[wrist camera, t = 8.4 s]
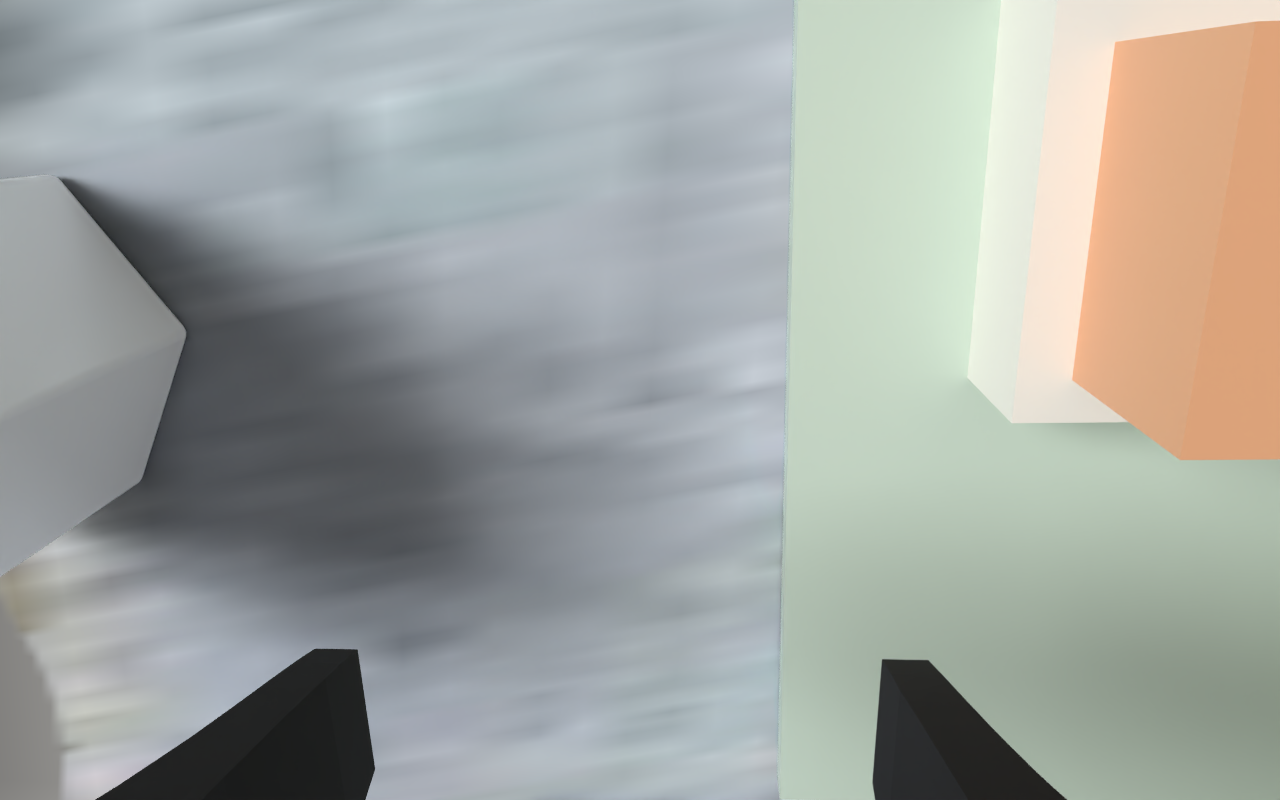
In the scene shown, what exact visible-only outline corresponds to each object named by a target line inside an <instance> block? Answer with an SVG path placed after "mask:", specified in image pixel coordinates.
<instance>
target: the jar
mask: <svg viewBox="0 0 1280 800" xmlns="http://www.w3.org/2000/svg"><path fill="white" fill-rule="evenodd" d="M185 339H186V330H185V328H184V326H183V325H182V324H181V323H180V321H179V320H178V319H177V318H176V317H175V316H174V314H173V313H172V312H171V311H170V310H169V309H168V307H167V306H166V305H165V304H164V303H163V301H162V300H161V299H160V298H159V297H158V296H157V294H156V293H155V292H154V291H153V290H152V289H151V287H150V286H149V285H148V284H147V283H146V281H145V280H144V279H143V278H142V277H141V275H140V274H139V273H138V272H137V271H136V270H135V268H134V267H133V266H132V265H131V264H130V262H129V261H128V260H127V259H126V258H125V256H124V255H123V254H122V253H121V252H120V250H119V249H118V248H117V247H116V246H115V245H114V243H113V242H112V241H111V240H110V239H109V237H108V236H107V235H106V234H105V233H104V231H103V230H102V229H101V228H100V227H99V226H98V224H97V223H96V222H95V221H94V220H93V218H92V217H91V216H90V215H89V214H88V212H87V211H86V210H85V209H84V208H83V206H82V205H81V204H80V203H79V202H78V200H77V199H76V198H75V197H74V196H73V194H72V193H71V192H70V191H69V190H68V188H67V187H66V186H65V185H64V184H63V182H62V181H61V180H60V179H58V178H57V177H55V176H53V175H46V174H44V175H32V176H19V177H7V178H0V577H1V576H3V575H4V574H6V573H7V572H9V571H10V570H12V569H13V568H15V567H16V566H17V565H19V564H20V563H22V562H23V561H25V560H26V559H28V558H29V557H31V556H32V555H34V554H35V553H37V552H38V551H40V550H41V549H42V548H44V547H45V546H47V545H48V544H50V543H51V542H53V541H54V540H56V539H57V538H59V537H60V536H62V535H63V534H65V533H66V532H67V531H69V530H70V529H72V528H73V527H75V526H76V525H78V524H79V523H81V522H82V521H84V520H85V519H87V518H88V517H89V516H91V515H92V514H94V513H95V512H97V511H98V510H100V509H101V508H103V507H104V506H106V505H107V504H109V503H110V502H112V501H113V500H114V499H116V498H117V497H119V496H120V495H122V494H123V493H125V492H126V491H128V490H129V489H131V488H132V487H134V486H135V485H137V484H138V483H139V482H140V481H141V479H142V478H143V475H144V471H145V468H146V465H147V462H148V458H149V455H150V452H151V449H152V446H153V442H154V439H155V436H156V433H157V429H158V426H159V423H160V420H161V417H162V413H163V410H164V407H165V404H166V400H167V397H168V394H169V391H170V387H171V384H172V381H173V378H174V375H175V371H176V368H177V365H178V362H179V358H180V355H181V352H182V349H183V346H184V342H185Z"/></svg>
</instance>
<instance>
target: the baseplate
mask: <svg viewBox="0 0 1280 800" xmlns="http://www.w3.org/2000/svg"><path fill="white" fill-rule="evenodd" d="M1000 7H1001V0H794V35H793V81H792V127H791V173H790V219H789V265H788V311H787V356H786V402H785V448H784V494H783V540H782V586H781V631H780V677H779V723H778V769H777V780H778V789H779V797H780V799H781V800H875V796H874V790H873V784H872V780H873V767H874V754H875V741H876V729H877V716H878V703H879V690H880V678H881V665H882V659H898V660H929V661H930V662H931V663H932V664H933V665H934V666H935V667H936V669H937V670H938V671H939V672H940V673H941V674H942V675H943V676H944V677H945V678H946V679H947V680H948V681H949V682H950V683H951V684H952V685H953V687H954V688H955V689H956V690H957V691H958V692H959V693H960V694H961V695H962V696H963V697H964V698H965V699H966V701H967V702H968V703H969V704H970V705H971V706H972V707H973V708H974V709H975V710H976V711H977V712H978V713H979V714H980V715H981V716H982V717H983V719H984V720H985V721H986V722H987V723H988V724H989V725H990V726H991V727H992V728H993V729H994V730H995V731H996V732H997V733H998V734H999V735H1000V736H1001V737H1002V738H1003V739H1004V740H1005V741H1006V742H1007V743H1008V744H1009V745H1010V746H1011V747H1012V748H1013V749H1014V750H1015V751H1016V752H1017V753H1018V754H1019V755H1020V756H1021V757H1022V758H1023V759H1024V760H1025V761H1026V762H1027V763H1028V764H1029V765H1030V766H1031V767H1032V768H1033V769H1034V770H1035V771H1036V772H1037V773H1038V774H1039V775H1040V776H1042V777H1043V778H1044V779H1045V780H1046V781H1047V782H1048V783H1049V784H1050V785H1051V786H1052V787H1053V788H1054V789H1056V790H1057V791H1058V792H1059V793H1060V794H1061V795H1062V796H1064V797H1065V798H1066V799H1067V800H1280V459H1270V460H1179V459H1178V458H1176V457H1175V456H1174V455H1172V454H1171V453H1170V452H1168V451H1167V450H1166V449H1164V448H1163V447H1162V446H1160V445H1159V444H1158V443H1156V442H1155V441H1154V440H1152V439H1151V438H1149V437H1148V436H1147V435H1145V434H1144V433H1143V432H1141V431H1140V430H1139V429H1137V428H1136V427H1135V426H1133V425H1132V424H1131V423H1129V422H1098V423H1011V422H1010V421H1009V420H1008V419H1007V418H1006V417H1005V416H1004V415H1003V414H1002V413H1001V412H1000V411H999V410H998V409H997V408H996V407H995V406H994V405H993V404H992V403H991V402H990V401H989V400H988V399H987V397H986V396H985V395H984V394H983V393H982V392H981V391H980V390H979V389H978V388H977V387H976V386H975V385H974V384H973V383H972V382H971V381H970V380H969V379H968V378H967V376H968V365H969V354H970V343H971V332H972V320H973V309H974V298H975V287H976V276H977V264H978V253H979V242H980V231H981V220H982V208H983V197H984V186H985V175H986V164H987V153H988V141H989V130H990V119H991V108H992V97H993V85H994V74H995V63H996V52H997V41H998V29H999V18H1000Z"/></svg>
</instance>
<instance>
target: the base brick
mask: <svg viewBox="0 0 1280 800" xmlns="http://www.w3.org/2000/svg"><path fill="white" fill-rule="evenodd" d="M1256 21H1280V0H1001V7H1000V18H999V29H998V41H997V52H996V63H995V74H994V85H993V97H992V108H991V119H990V130H989V141H988V153H987V164H986V175H985V186H984V197H983V208H982V220H981V231H980V242H979V253H978V264H977V276H976V287H975V298H974V309H973V320H972V332H971V343H970V354H969V365H968V376H967V378H968V379H969V380H970V381H971V382H972V383H973V384H974V385H975V386H976V387H977V388H978V389H979V390H980V391H981V392H982V393H983V394H984V395H985V396H986V397H987V399H988V400H989V401H990V402H991V403H992V404H993V405H994V406H995V407H996V408H997V409H998V410H999V411H1000V412H1001V413H1002V414H1003V415H1004V416H1005V417H1006V418H1007V419H1008V420H1009V421H1010V422H1011V423H1098V422H1128V421H1127V420H1125V419H1124V418H1123V417H1121V416H1120V415H1118V414H1117V413H1116V412H1114V411H1113V410H1112V409H1110V408H1109V407H1108V406H1106V405H1105V404H1104V403H1102V402H1101V401H1100V400H1098V399H1097V398H1096V397H1094V396H1093V395H1092V394H1090V393H1089V392H1087V391H1086V390H1085V389H1083V388H1082V387H1081V386H1079V385H1078V384H1077V383H1075V382H1074V381H1073V380H1072V376H1073V368H1074V361H1075V353H1076V345H1077V337H1078V329H1079V321H1080V313H1081V306H1082V298H1083V290H1084V282H1085V274H1086V266H1087V259H1088V251H1089V243H1090V235H1091V227H1092V219H1093V211H1094V204H1095V196H1096V188H1097V180H1098V172H1099V164H1100V156H1101V149H1102V141H1103V133H1104V125H1105V117H1106V109H1107V102H1108V94H1109V86H1110V78H1111V70H1112V62H1113V54H1114V47H1115V42H1118V41H1125V40H1132V39H1139V38H1146V37H1153V36H1159V35H1166V34H1173V33H1180V32H1187V31H1194V30H1201V29H1207V28H1214V27H1221V26H1228V25H1235V24H1242V23H1249V22H1256Z"/></svg>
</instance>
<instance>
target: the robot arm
mask: <svg viewBox="0 0 1280 800" xmlns="http://www.w3.org/2000/svg"><path fill="white" fill-rule="evenodd" d="M374 771H375V766H374V759H373V752H372V745H371V739H370V732H369V725H368V718H367V711H366V704H365V698H364V691H363V684H362V677H361V670H360V664H359V657H358V650H355V649H314V650H312V651H311V652H309V653H308V654H306V655H305V656H303V657H302V658H300V659H299V660H297V661H296V662H294V663H293V664H291V665H290V666H289V667H287V668H286V669H284V670H283V671H282V672H280V673H279V674H278V675H276V676H275V677H273V678H272V679H271V680H269V681H268V682H267V683H265V684H264V685H262V686H261V687H260V688H258V689H257V690H256V691H254V692H253V693H252V694H250V695H249V696H247V697H246V698H245V699H243V700H242V701H241V702H239V703H238V704H236V705H235V706H234V707H232V708H231V709H229V710H228V711H227V712H225V713H224V714H222V715H221V716H220V717H218V718H217V719H216V720H214V721H213V722H211V723H210V724H209V725H207V726H206V727H204V728H203V729H202V730H200V731H199V732H197V733H196V734H195V735H193V736H192V737H190V738H189V739H188V740H186V741H184V742H183V743H181V744H180V745H178V746H177V747H175V748H174V749H172V750H171V751H169V752H168V753H166V754H165V755H163V756H162V757H160V758H159V759H157V760H156V761H154V762H153V763H151V764H150V765H148V766H147V767H145V768H144V769H142V770H141V771H139V772H138V773H136V774H135V775H133V776H132V777H130V778H129V779H127V780H126V781H124V782H123V783H121V784H120V785H118V786H117V787H115V788H113V789H112V790H110V791H109V792H107V793H105V794H104V795H102V796H101V797H99V798H97V799H96V800H365V799H366V796H367V793H368V789H369V786H370V783H371V780H372V777H373V774H374ZM872 784H873V790H874V796H875V800H1067V799H1066V798H1065V797H1064V796H1062V795H1061V794H1060V793H1059V792H1058V791H1057V790H1056V789H1054V788H1053V787H1052V786H1051V785H1050V784H1049V783H1048V782H1047V781H1046V780H1045V779H1044V778H1043V777H1042V776H1040V775H1039V774H1038V773H1037V772H1036V771H1035V770H1034V769H1033V768H1032V767H1031V766H1030V765H1029V764H1028V763H1027V762H1026V761H1025V760H1024V759H1023V758H1022V757H1021V756H1020V755H1019V754H1018V753H1017V752H1016V751H1015V750H1014V749H1013V748H1012V747H1011V746H1010V745H1009V744H1008V743H1007V742H1006V741H1005V740H1004V739H1003V738H1002V737H1001V736H1000V735H999V734H998V733H997V732H996V731H995V730H994V729H993V728H992V727H991V726H990V725H989V724H988V723H987V722H986V721H985V720H984V719H983V717H982V716H981V715H980V714H979V713H978V712H977V711H976V710H975V709H974V708H973V707H972V706H971V705H970V704H969V703H968V702H967V701H966V699H965V698H964V697H963V696H962V695H961V694H960V693H959V692H958V691H957V690H956V689H955V688H954V687H953V685H952V684H951V683H950V682H949V681H948V680H947V679H946V678H945V677H944V676H943V675H942V674H941V673H940V672H939V671H938V670H937V669H936V667H935V666H934V665H933V664H932V663H931V662H930V661H929V660H898V659H882V665H881V678H880V690H879V703H878V716H877V729H876V741H875V754H874V767H873V780H872Z"/></svg>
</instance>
